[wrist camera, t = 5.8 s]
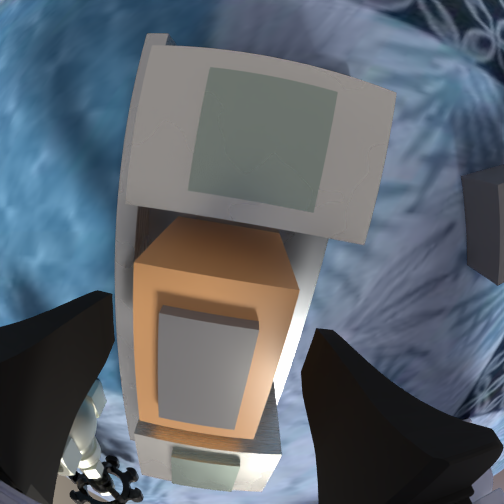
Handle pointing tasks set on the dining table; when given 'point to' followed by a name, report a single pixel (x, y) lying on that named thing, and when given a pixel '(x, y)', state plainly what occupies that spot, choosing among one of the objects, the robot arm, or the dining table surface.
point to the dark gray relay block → (485, 221)
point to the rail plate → (240, 205)
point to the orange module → (210, 325)
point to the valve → (94, 457)
